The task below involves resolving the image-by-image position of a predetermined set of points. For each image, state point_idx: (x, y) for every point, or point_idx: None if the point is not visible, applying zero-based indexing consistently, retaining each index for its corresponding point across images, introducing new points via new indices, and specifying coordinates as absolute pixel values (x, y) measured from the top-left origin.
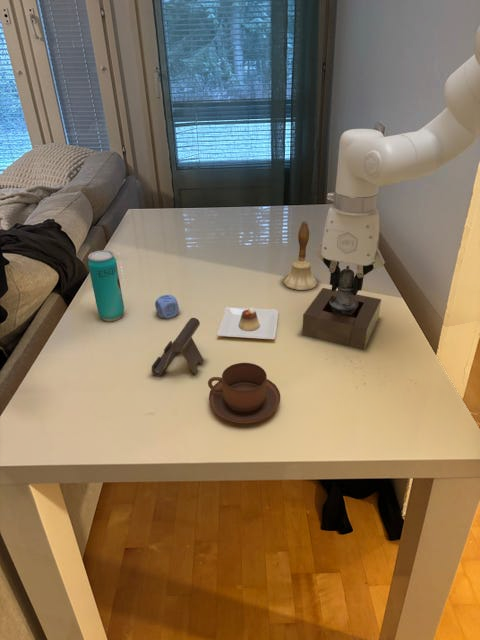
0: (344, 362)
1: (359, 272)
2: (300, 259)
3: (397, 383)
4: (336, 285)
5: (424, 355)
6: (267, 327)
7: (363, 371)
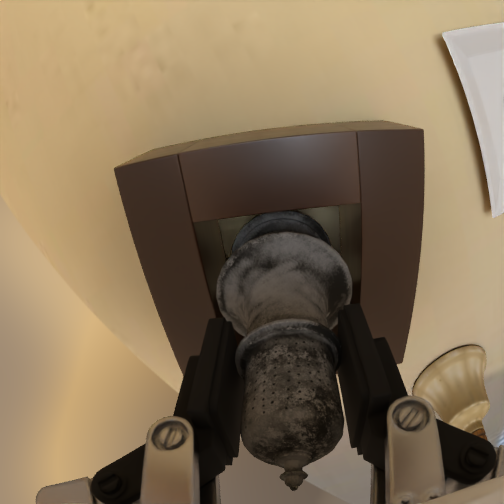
0: (176, 45)
1: (173, 453)
2: (478, 425)
3: (30, 71)
4: (342, 343)
5: (33, 226)
6: (488, 115)
7: (109, 46)
